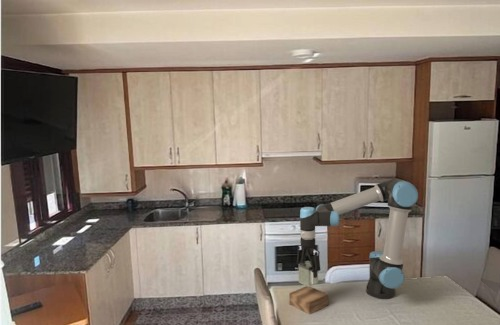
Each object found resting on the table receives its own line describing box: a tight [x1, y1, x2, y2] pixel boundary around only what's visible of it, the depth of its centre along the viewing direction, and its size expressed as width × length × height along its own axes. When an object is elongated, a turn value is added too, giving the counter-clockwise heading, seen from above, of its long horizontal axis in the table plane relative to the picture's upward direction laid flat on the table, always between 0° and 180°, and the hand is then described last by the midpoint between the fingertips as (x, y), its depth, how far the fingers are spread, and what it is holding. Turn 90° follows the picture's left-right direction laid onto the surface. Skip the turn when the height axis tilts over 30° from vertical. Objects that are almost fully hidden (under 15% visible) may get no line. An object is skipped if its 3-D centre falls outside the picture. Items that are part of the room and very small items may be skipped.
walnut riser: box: [289, 286, 329, 315], centre depth 194 cm, size 14×14×6 cm
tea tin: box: [297, 260, 319, 287], centre depth 192 cm, size 7×7×10 cm
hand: (308, 280), depth 193 cm, fingers closed on tea tin, 7 cm apart
